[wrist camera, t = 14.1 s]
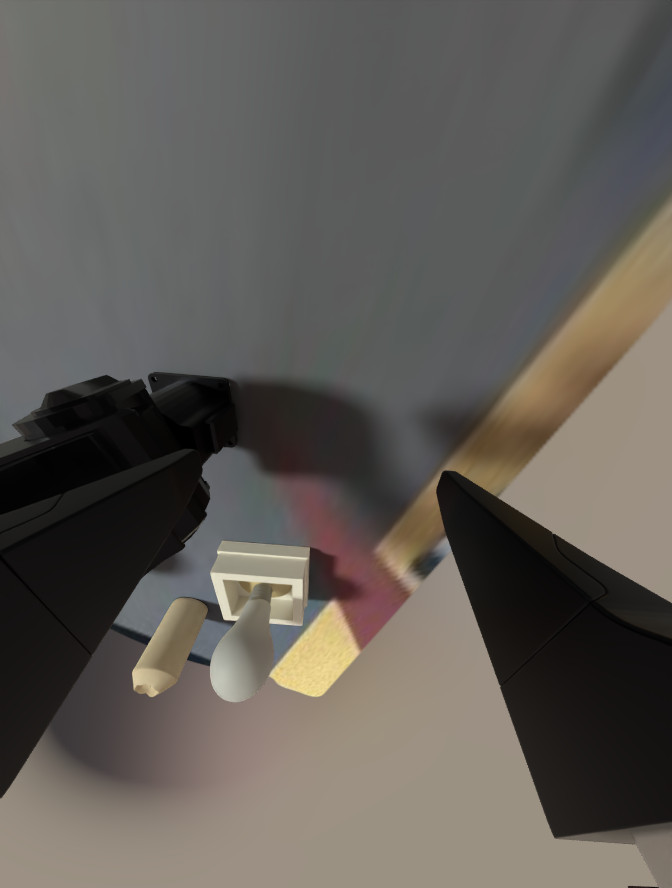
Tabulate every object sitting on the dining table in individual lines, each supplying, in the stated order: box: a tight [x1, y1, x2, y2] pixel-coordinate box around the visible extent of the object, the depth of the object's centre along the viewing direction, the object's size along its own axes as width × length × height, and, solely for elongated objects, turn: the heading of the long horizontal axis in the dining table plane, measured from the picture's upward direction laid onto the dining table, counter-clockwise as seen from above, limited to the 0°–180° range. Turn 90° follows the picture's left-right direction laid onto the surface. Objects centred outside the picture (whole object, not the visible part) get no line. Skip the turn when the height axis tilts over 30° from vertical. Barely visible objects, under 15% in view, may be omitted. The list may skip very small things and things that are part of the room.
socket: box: [210, 540, 310, 626], centre depth 32 cm, size 11×11×4 cm
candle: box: [132, 597, 208, 697], centre depth 35 cm, size 6×6×10 cm
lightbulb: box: [210, 583, 274, 702], centre depth 28 cm, size 6×6×11 cm
